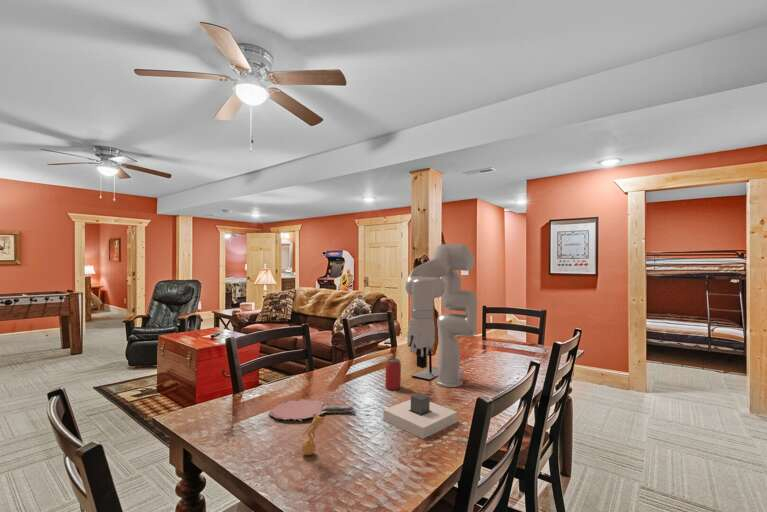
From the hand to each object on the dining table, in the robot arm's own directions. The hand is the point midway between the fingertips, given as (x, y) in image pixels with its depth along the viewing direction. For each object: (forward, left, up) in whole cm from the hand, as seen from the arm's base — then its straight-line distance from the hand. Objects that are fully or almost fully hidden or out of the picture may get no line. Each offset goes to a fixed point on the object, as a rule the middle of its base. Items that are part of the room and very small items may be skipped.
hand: (421, 366), depth 127 cm
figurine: (+40, -6, -19) cm, 45 cm away
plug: (+1, 0, -18) cm, 18 cm away
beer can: (-16, -29, -19) cm, 38 cm away
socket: (0, 0, -19) cm, 19 cm away
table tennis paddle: (+25, -31, -19) cm, 44 cm away
